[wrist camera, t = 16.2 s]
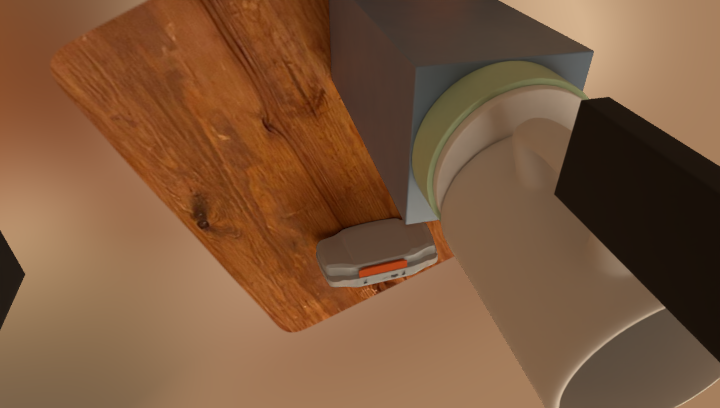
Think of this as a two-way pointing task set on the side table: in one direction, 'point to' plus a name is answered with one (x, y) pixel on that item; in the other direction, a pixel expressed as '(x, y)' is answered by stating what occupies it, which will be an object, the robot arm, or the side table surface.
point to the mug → (564, 285)
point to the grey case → (375, 252)
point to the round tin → (485, 119)
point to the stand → (427, 70)
